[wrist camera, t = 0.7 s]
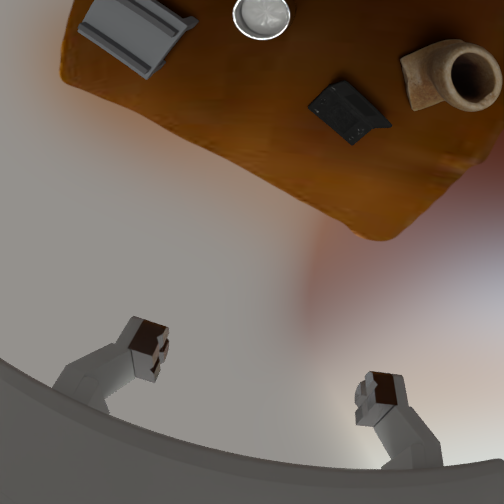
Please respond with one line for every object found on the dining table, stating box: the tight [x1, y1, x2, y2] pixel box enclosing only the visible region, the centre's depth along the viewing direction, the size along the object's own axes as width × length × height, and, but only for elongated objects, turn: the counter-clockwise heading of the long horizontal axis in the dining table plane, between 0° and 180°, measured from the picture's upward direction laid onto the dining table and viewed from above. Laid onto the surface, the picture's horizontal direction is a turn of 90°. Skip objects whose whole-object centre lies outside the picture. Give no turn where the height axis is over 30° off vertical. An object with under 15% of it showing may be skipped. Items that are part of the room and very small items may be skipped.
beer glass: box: [233, 0, 296, 40], centre depth 33 cm, size 7×7×15 cm
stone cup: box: [400, 39, 502, 112], centre depth 33 cm, size 15×12×15 cm
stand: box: [78, 0, 199, 80], centre depth 39 cm, size 12×17×8 cm
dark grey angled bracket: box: [308, 80, 392, 145], centre depth 47 cm, size 12×7×10 cm
